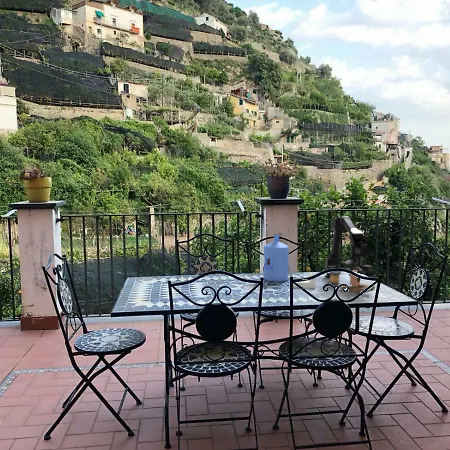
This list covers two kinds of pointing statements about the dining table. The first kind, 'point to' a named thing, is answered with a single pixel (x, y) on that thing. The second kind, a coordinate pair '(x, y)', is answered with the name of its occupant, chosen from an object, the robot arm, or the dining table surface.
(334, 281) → the bobbin
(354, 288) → the notched board
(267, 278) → the water jug
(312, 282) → the bracket
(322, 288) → the dining table surface
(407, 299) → the dining table surface
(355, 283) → the salmon orange block
